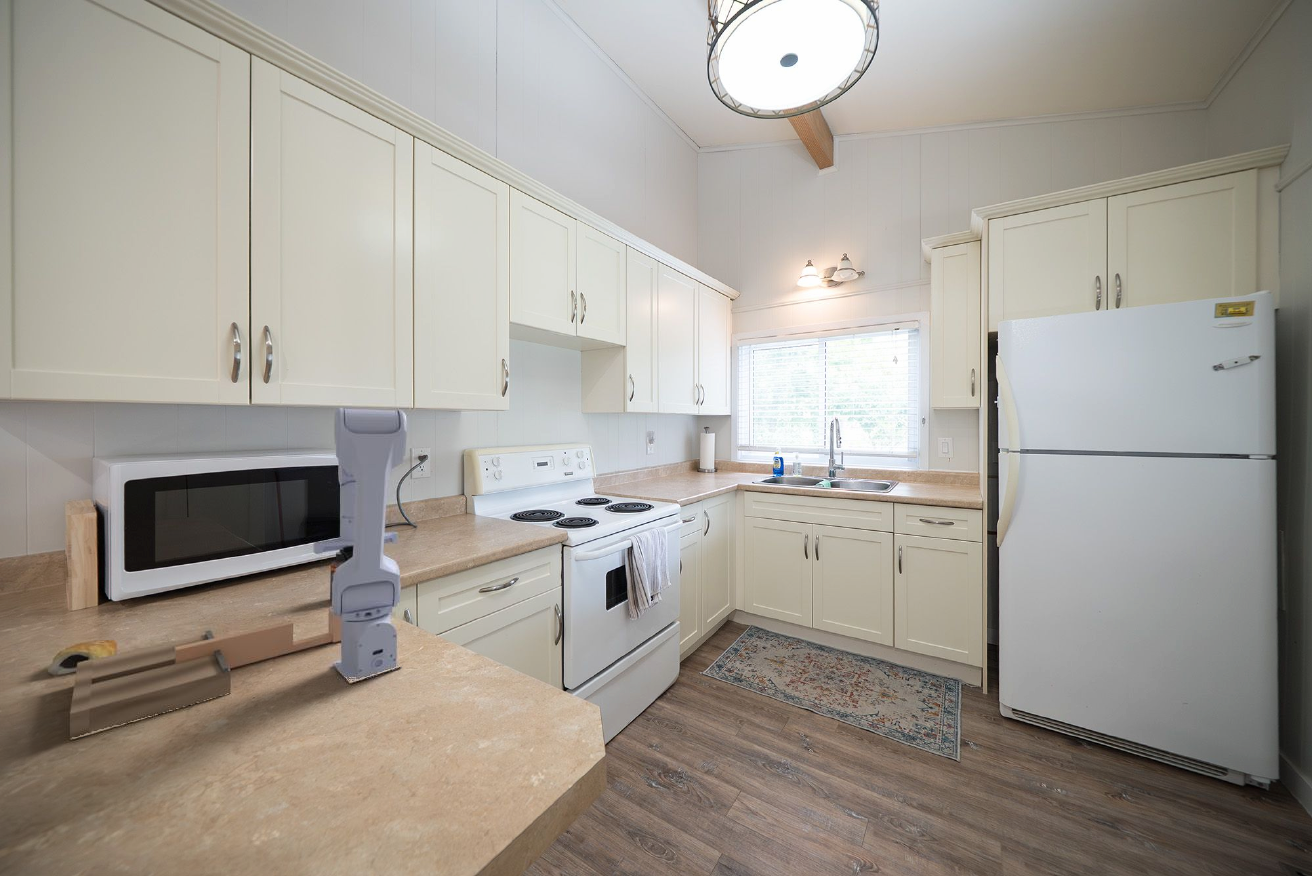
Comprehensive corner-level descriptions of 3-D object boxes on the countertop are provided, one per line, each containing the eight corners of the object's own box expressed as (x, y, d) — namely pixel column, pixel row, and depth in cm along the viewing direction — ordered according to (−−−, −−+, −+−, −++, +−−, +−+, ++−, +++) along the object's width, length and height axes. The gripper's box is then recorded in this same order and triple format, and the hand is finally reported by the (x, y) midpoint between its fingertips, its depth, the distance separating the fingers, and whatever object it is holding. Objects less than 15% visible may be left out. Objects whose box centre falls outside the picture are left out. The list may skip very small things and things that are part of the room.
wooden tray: (230, 693, 74) (230, 666, 74) (69, 740, 62) (69, 709, 62) (212, 652, 88) (212, 629, 88) (77, 684, 76) (77, 658, 76)
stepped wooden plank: (345, 639, 93) (345, 609, 93) (176, 684, 76) (176, 648, 76) (340, 634, 95) (340, 605, 95) (174, 677, 78) (174, 642, 78)
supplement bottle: (349, 603, 113) (349, 555, 113) (323, 603, 113) (324, 554, 113) (365, 595, 119) (365, 549, 119) (341, 594, 119) (341, 548, 119)
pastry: (77, 655, 87) (77, 633, 87) (130, 648, 90) (130, 627, 90) (43, 678, 78) (43, 655, 78) (103, 670, 81) (103, 647, 81)
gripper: (389, 509, 106) (388, 571, 106) (309, 517, 96) (309, 586, 96) (401, 513, 102) (401, 578, 102) (319, 522, 91) (319, 594, 91)
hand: (357, 583), depth 98 cm, fingers closed
